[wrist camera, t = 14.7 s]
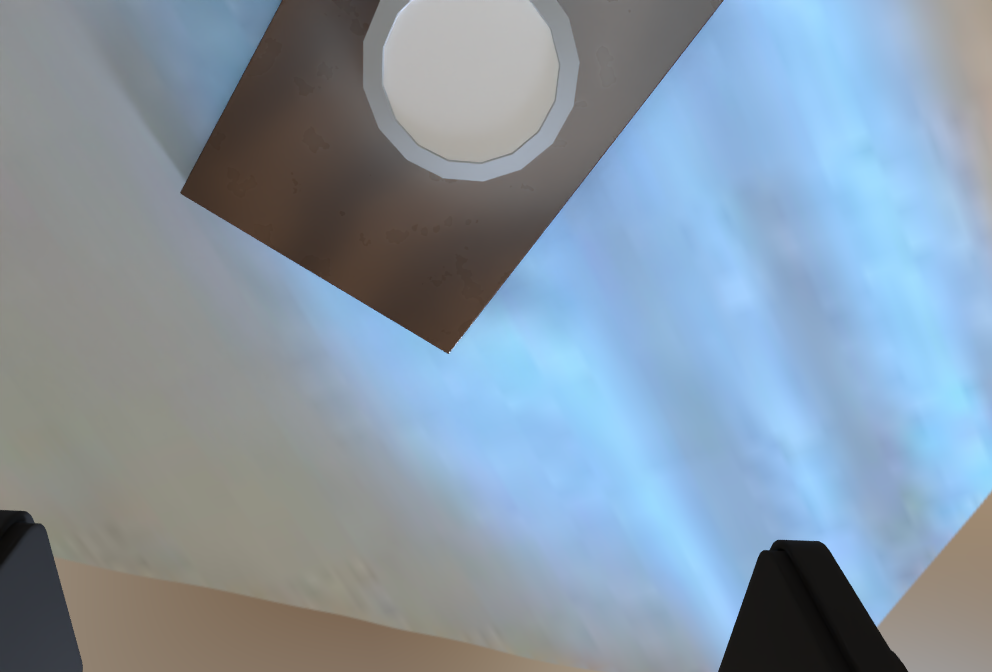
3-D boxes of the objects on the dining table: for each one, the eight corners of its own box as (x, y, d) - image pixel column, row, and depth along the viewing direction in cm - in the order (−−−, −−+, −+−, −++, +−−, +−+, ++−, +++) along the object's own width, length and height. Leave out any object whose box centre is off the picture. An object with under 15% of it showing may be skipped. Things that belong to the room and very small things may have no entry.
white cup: (549, -57, 27) (574, -63, 21) (561, 128, 30) (585, 170, 24) (369, -36, 27) (339, -35, 21) (399, 146, 30) (381, 193, 24)
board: (187, 187, 32) (179, 193, 31) (436, -280, 25) (435, -289, 24) (449, 344, 36) (448, 354, 35) (727, -16, 29) (736, -15, 28)
